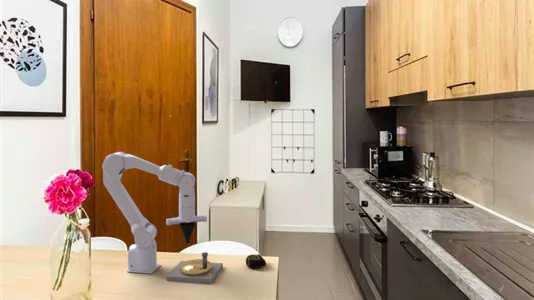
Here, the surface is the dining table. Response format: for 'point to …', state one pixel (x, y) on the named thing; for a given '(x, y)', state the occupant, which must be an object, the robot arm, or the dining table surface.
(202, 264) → the brass disc with crank
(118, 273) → the dining table surface
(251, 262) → the tape measure
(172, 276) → the stand
